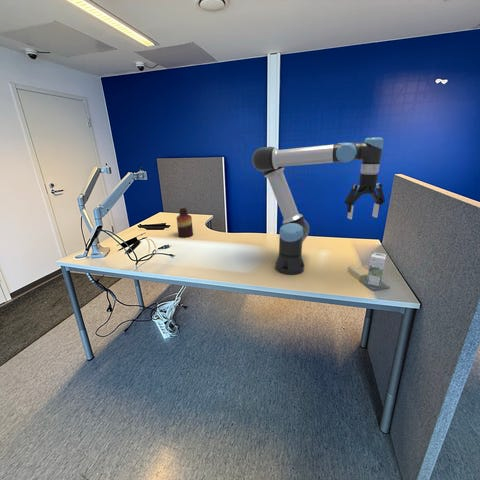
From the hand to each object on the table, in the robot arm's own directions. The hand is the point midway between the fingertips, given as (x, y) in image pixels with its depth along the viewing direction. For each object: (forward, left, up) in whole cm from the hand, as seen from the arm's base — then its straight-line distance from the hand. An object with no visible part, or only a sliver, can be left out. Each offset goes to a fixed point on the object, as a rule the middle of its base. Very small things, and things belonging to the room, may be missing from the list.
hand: (362, 217), depth 125 cm
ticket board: (-1, -7, -28) cm, 28 cm away
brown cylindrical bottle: (-86, +80, -28) cm, 121 cm away
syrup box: (-2, -17, -27) cm, 32 cm away
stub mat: (-2, -17, -27) cm, 32 cm away
